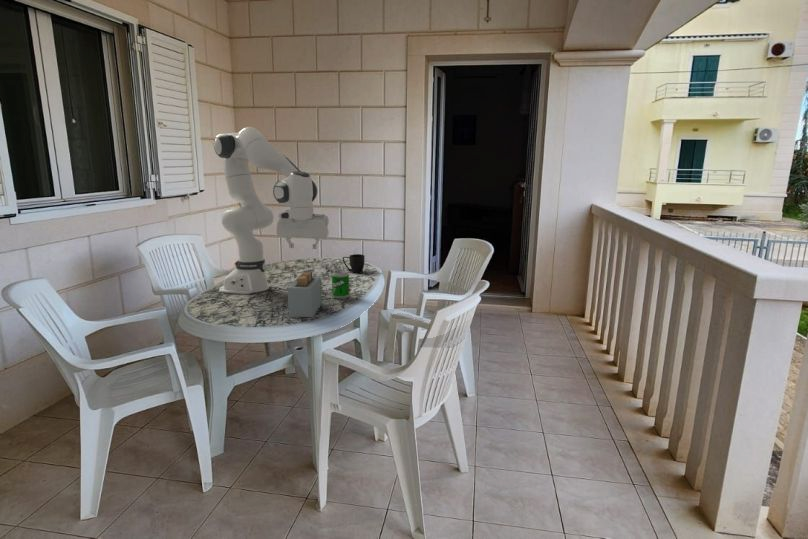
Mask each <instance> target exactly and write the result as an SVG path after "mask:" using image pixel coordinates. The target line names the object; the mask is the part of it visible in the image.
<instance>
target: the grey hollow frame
mask: <svg viewBox="0 0 808 539" xmlns="http://www.w3.org/2000/svg"><path fill="white" fill-rule="evenodd" d="M322 300H323V298H322V277H321V276H312V282H311V283H310V284H309V285H308V286H307V287H297V279H295V280H294V281H293V282H292V283H291V284H289V285H288V287H287V301H288V302H287V304H288V318H289V317H312V318H313V317H314V316H315V314H316V313H317V312H318V310H319V309H320V307H321V306H322V303H323V302H322ZM320 305H321V306H320ZM318 308H319V309H318ZM316 311H317V312H316ZM313 315H314V316H313Z"/></svg>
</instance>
